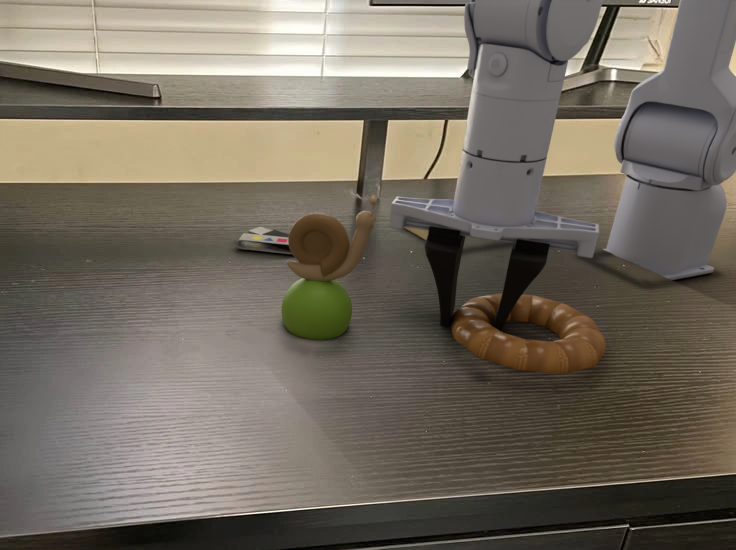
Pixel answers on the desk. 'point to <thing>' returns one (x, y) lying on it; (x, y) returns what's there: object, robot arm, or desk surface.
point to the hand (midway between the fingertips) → (470, 326)
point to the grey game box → (265, 241)
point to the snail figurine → (323, 273)
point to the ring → (566, 355)
